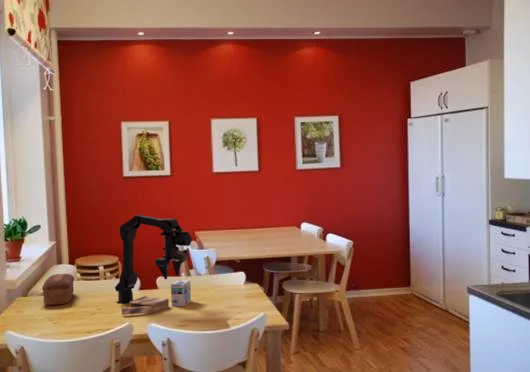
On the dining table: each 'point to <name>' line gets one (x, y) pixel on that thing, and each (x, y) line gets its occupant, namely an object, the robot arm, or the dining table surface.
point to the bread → (58, 289)
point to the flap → (137, 310)
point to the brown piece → (150, 303)
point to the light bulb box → (180, 292)
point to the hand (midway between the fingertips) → (171, 277)
